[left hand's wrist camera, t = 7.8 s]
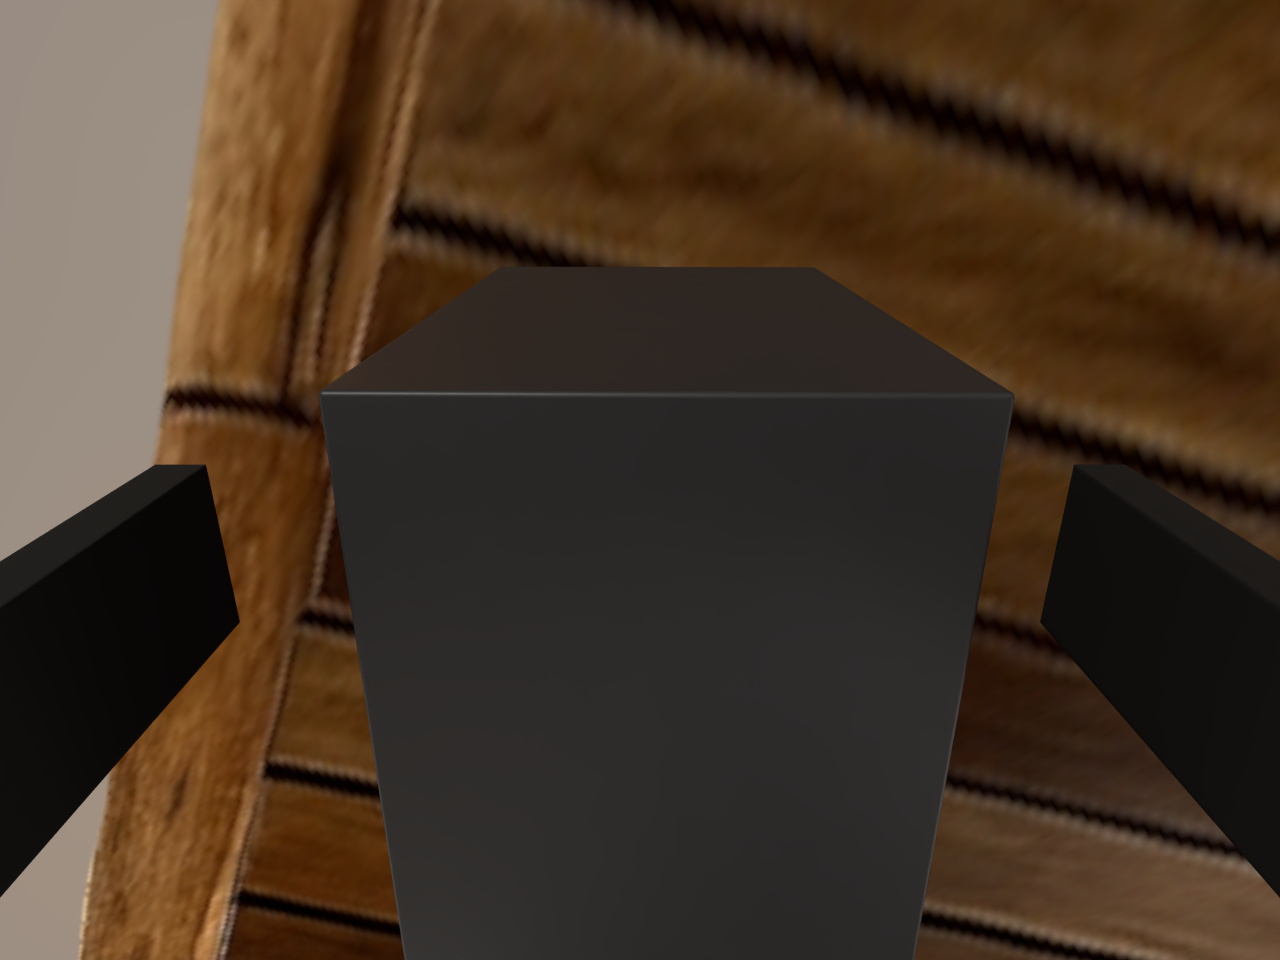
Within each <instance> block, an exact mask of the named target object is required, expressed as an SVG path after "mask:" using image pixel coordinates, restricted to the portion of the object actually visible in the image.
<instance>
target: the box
mask: <svg viewBox="0 0 1280 960" xmlns="http://www.w3.org/2000/svg"><path fill="white" fill-rule="evenodd" d="M319 401H320V408H321V414H322V421H323V427H324V434H325V440H326V447H327V453H328V460H329V466H330V473H331V480H332V486H333V493H334V499H335V506H336V512H337V519H338V525H339V532H340V538H341V545H342V551H343V558H344V565H345V571H346V578H347V584H348V591H349V597H350V604H351V610H352V617H353V623H354V630H355V636H356V643H357V650H358V656H359V663H360V669H361V676H362V682H363V689H364V695H365V702H366V708H367V715H368V721H369V728H370V735H371V741H372V748H373V754H374V761H375V767H376V774H377V780H378V787H379V793H380V800H381V806H382V813H383V820H384V826H385V833H386V839H387V846H388V852H389V859H390V865H391V872H392V878H393V885H394V891H395V898H396V905H397V911H398V918H399V924H400V931H401V937H402V944H403V950H404V957H405V960H914V956H915V951H916V945H917V940H918V934H919V928H920V923H921V917H922V912H923V906H924V901H925V895H926V889H927V884H928V878H929V873H930V867H931V862H932V856H933V850H934V845H935V839H936V834H937V828H938V823H939V817H940V811H941V806H942V800H943V795H944V789H945V783H946V778H947V772H948V767H949V761H950V756H951V750H952V744H953V739H954V733H955V728H956V722H957V717H958V711H959V705H960V700H961V694H962V689H963V683H964V678H965V672H966V666H967V661H968V655H969V650H970V644H971V639H972V633H973V627H974V622H975V616H976V611H977V605H978V600H979V594H980V588H981V583H982V577H983V572H984V566H985V561H986V555H987V549H988V544H989V538H990V533H991V527H992V522H993V516H994V510H995V505H996V499H997V494H998V488H999V483H1000V477H1001V471H1002V466H1003V460H1004V455H1005V449H1006V444H1007V438H1008V432H1009V427H1010V421H1011V416H1012V410H1013V405H1014V394H1013V393H1012V392H1010V391H1009V390H1007V389H1005V388H1004V387H1002V386H1001V385H999V384H997V383H996V382H994V381H993V380H991V379H990V378H988V377H986V376H985V375H983V374H982V373H980V372H978V371H977V370H975V369H974V368H972V367H971V366H969V365H967V364H966V363H964V362H963V361H961V360H960V359H958V358H956V357H955V356H953V355H952V354H950V353H948V352H947V351H945V350H944V349H942V348H941V347H939V346H937V345H936V344H934V343H933V342H931V341H929V340H928V339H926V338H925V337H923V336H922V335H920V334H918V333H917V332H915V331H914V330H912V329H911V328H909V327H907V326H906V325H904V324H903V323H901V322H899V321H898V320H896V319H895V318H893V317H892V316H890V315H888V314H887V313H885V312H884V311H882V310H880V309H879V308H877V307H876V306H874V305H873V304H871V303H869V302H868V301H866V300H865V299H863V298H862V297H860V296H858V295H857V294H855V293H854V292H852V291H850V290H849V289H847V288H846V287H844V286H843V285H841V284H839V283H838V282H836V281H835V280H833V279H831V278H830V277H828V276H827V275H825V274H824V273H822V272H820V271H819V270H817V269H816V268H797V267H501V268H499V269H497V270H496V271H495V272H493V273H492V274H490V275H489V276H487V277H486V278H484V279H483V280H481V281H480V282H478V283H477V284H476V285H474V286H473V287H471V288H470V289H468V290H467V291H465V292H464V293H462V294H461V295H459V296H458V297H457V298H455V299H454V300H452V301H451V302H449V303H448V304H446V305H445V306H443V307H442V308H440V309H439V310H437V311H436V312H435V313H433V314H432V315H430V316H429V317H427V318H426V319H424V320H423V321H421V322H420V323H418V324H417V325H416V326H414V327H413V328H411V329H410V330H408V331H407V332H405V333H404V334H402V335H401V336H399V337H398V338H397V339H395V340H394V341H392V342H391V343H389V344H388V345H386V346H385V347H383V348H382V349H380V350H379V351H377V352H376V353H375V354H373V355H372V356H370V357H369V358H367V359H366V360H364V361H363V362H361V363H360V364H358V365H357V366H356V367H354V368H353V369H351V370H350V371H348V372H347V373H345V374H344V375H342V376H341V377H339V378H338V379H337V380H335V381H334V382H332V383H331V384H329V385H328V386H326V387H325V388H323V389H322V390H320V392H319Z"/></svg>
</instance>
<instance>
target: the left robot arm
mask: <svg viewBox="0 0 1280 960" xmlns="http://www.w3.org/2000/svg"><path fill="white" fill-rule="evenodd" d="M239 622H240V621H239V616H238V611H237V607H236V602H235V597H234V593H233V588H232V583H231V579H230V574H229V570H228V565H227V560H226V556H225V551H224V546H223V542H222V537H221V532H220V528H219V523H218V519H217V514H216V509H215V505H214V500H213V495H212V491H211V486H210V481H209V477H208V472H207V468H206V465H154V466H152V467H151V468H149V469H148V470H146V471H144V472H143V473H141V474H140V475H138V476H136V477H135V478H133V479H132V480H130V481H128V482H127V483H125V484H124V485H122V486H120V487H119V488H117V489H116V490H114V491H112V492H111V493H109V494H108V495H106V496H104V497H103V498H101V499H100V500H98V501H96V502H95V503H93V504H92V505H90V506H88V507H87V508H85V509H83V510H82V511H80V512H79V513H77V514H75V515H74V516H72V517H71V518H69V519H67V520H66V521H64V522H63V523H61V524H59V525H58V526H56V527H55V528H53V529H51V530H50V531H48V532H47V533H45V534H44V535H42V536H40V537H39V538H37V539H35V540H34V541H32V542H31V543H29V544H27V545H26V546H24V547H23V548H21V549H19V550H18V551H16V552H15V553H13V554H11V555H10V556H8V557H7V558H5V559H3V560H2V561H0V897H1V896H2V895H3V894H4V893H5V891H6V890H7V889H8V888H9V887H10V886H11V884H12V883H13V882H14V881H15V880H16V879H17V878H18V876H19V875H20V874H21V873H22V872H23V871H24V870H25V868H26V867H27V866H28V865H29V864H30V863H31V862H32V860H33V859H34V858H35V857H36V856H37V855H38V853H39V852H40V851H41V850H42V849H43V848H44V847H45V845H46V844H47V843H48V842H49V841H50V840H51V839H52V837H53V836H54V835H55V834H56V833H57V832H58V830H59V829H60V828H61V827H62V826H63V825H64V824H65V822H66V821H67V820H68V819H69V818H70V817H71V816H72V814H73V813H74V812H75V811H76V810H77V809H78V807H79V806H80V805H81V804H82V803H83V802H84V801H85V799H86V798H87V797H88V796H89V795H90V794H91V793H92V791H93V790H94V789H95V788H96V787H97V786H98V785H99V783H100V782H101V781H102V780H103V779H104V778H105V776H106V775H107V774H108V773H109V772H110V771H111V770H112V768H113V767H114V766H115V765H116V764H117V763H118V762H119V760H120V759H121V758H122V757H123V756H124V755H125V753H126V752H127V751H128V750H129V749H130V748H131V747H132V745H133V744H134V743H135V742H136V741H137V740H138V739H139V737H140V736H141V735H142V734H143V733H144V732H145V730H146V729H147V728H148V727H149V726H150V725H151V724H152V722H153V721H154V720H155V719H156V718H157V717H158V716H159V714H160V713H161V712H162V711H163V710H164V709H165V708H166V706H167V705H168V704H169V703H170V702H171V701H172V699H173V698H174V697H175V696H176V695H177V694H178V693H179V691H180V690H181V689H182V688H183V687H184V686H185V685H186V683H187V682H188V681H189V680H190V679H191V678H192V676H193V675H194V674H195V673H196V672H197V671H198V670H199V668H200V667H201V666H202V665H203V664H204V663H205V662H206V660H207V659H208V658H209V657H210V656H211V655H212V653H213V652H214V651H215V650H216V649H217V648H218V647H219V645H220V644H221V643H222V642H223V641H224V640H225V639H226V637H227V636H228V635H229V634H230V633H231V632H232V631H233V629H234V628H235V627H236V626H237V625H238V624H239ZM1040 622H1041V624H1042V625H1043V626H1044V627H1045V628H1046V629H1047V631H1048V632H1049V633H1050V634H1051V635H1052V636H1053V637H1054V639H1055V640H1056V641H1057V642H1058V643H1059V644H1060V645H1061V647H1062V648H1063V649H1064V650H1065V651H1066V652H1067V653H1068V655H1069V656H1070V657H1071V658H1072V659H1073V660H1074V662H1075V663H1076V664H1077V665H1078V666H1079V667H1080V668H1081V670H1082V671H1083V672H1084V673H1085V674H1086V675H1087V676H1088V678H1089V679H1090V680H1091V681H1092V682H1093V683H1094V685H1095V686H1096V687H1097V688H1098V689H1099V690H1100V691H1101V693H1102V694H1103V695H1104V696H1105V697H1106V698H1107V699H1108V701H1109V702H1110V703H1111V704H1112V705H1113V706H1114V708H1115V709H1116V710H1117V711H1118V712H1119V713H1120V714H1121V716H1122V717H1123V718H1124V719H1125V720H1126V721H1127V722H1128V724H1129V725H1130V726H1131V727H1132V728H1133V729H1134V730H1135V732H1136V733H1137V734H1138V735H1139V736H1140V737H1141V739H1142V740H1143V741H1144V742H1145V743H1146V744H1147V745H1148V747H1149V748H1150V749H1151V750H1152V751H1153V752H1154V753H1155V755H1156V756H1157V757H1158V758H1159V759H1160V760H1161V762H1162V763H1163V764H1164V765H1165V766H1166V767H1167V768H1168V770H1169V771H1170V772H1171V773H1172V774H1173V775H1174V776H1175V778H1176V779H1177V780H1178V781H1179V782H1180V783H1181V785H1182V786H1183V787H1184V788H1185V789H1186V790H1187V791H1188V793H1189V794H1190V795H1191V796H1192V797H1193V798H1194V799H1195V801H1196V802H1197V803H1198V804H1199V805H1200V806H1201V808H1202V809H1203V810H1204V811H1205V812H1206V813H1207V814H1208V816H1209V817H1210V818H1211V819H1212V820H1213V821H1214V822H1215V824H1216V825H1217V826H1218V827H1219V828H1220V829H1221V830H1222V832H1223V833H1224V834H1225V835H1226V836H1227V837H1228V839H1229V840H1230V841H1231V842H1232V843H1233V844H1234V845H1235V847H1236V848H1237V849H1238V850H1239V851H1240V852H1241V853H1242V855H1243V856H1244V857H1245V858H1246V859H1247V860H1248V862H1249V863H1250V864H1251V865H1252V866H1253V867H1254V868H1255V870H1256V871H1257V872H1258V873H1259V874H1260V875H1261V876H1262V878H1263V879H1264V880H1265V881H1266V882H1267V883H1268V885H1269V886H1270V887H1271V888H1272V889H1273V890H1274V891H1275V893H1276V894H1277V895H1278V896H1279V897H1280V561H1278V560H1277V559H1275V558H1273V557H1272V556H1270V555H1269V554H1267V553H1265V552H1264V551H1262V550H1261V549H1259V548H1257V547H1256V546H1254V545H1253V544H1251V543H1249V542H1248V541H1246V540H1245V539H1243V538H1241V537H1240V536H1238V535H1237V534H1235V533H1233V532H1232V531H1230V530H1229V529H1227V528H1225V527H1224V526H1222V525H1221V524H1219V523H1217V522H1216V521H1214V520H1213V519H1211V518H1209V517H1208V516H1206V515H1205V514H1203V513H1201V512H1200V511H1198V510H1197V509H1195V508H1193V507H1192V506H1190V505H1188V504H1187V503H1185V502H1184V501H1182V500H1180V499H1179V498H1177V497H1176V496H1174V495H1172V494H1171V493H1169V492H1168V491H1166V490H1164V489H1163V488H1161V487H1160V486H1158V485H1156V484H1155V483H1153V482H1152V481H1150V480H1148V479H1147V478H1145V477H1144V476H1142V475H1140V474H1139V473H1137V472H1136V471H1134V470H1132V469H1131V468H1129V467H1128V466H1126V465H1074V468H1073V472H1072V477H1071V481H1070V486H1069V491H1068V495H1067V500H1066V505H1065V509H1064V514H1063V519H1062V523H1061V528H1060V532H1059V537H1058V542H1057V546H1056V551H1055V556H1054V560H1053V565H1052V570H1051V574H1050V579H1049V583H1048V588H1047V593H1046V597H1045V602H1044V607H1043V611H1042V616H1041V620H1040Z"/></svg>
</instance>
